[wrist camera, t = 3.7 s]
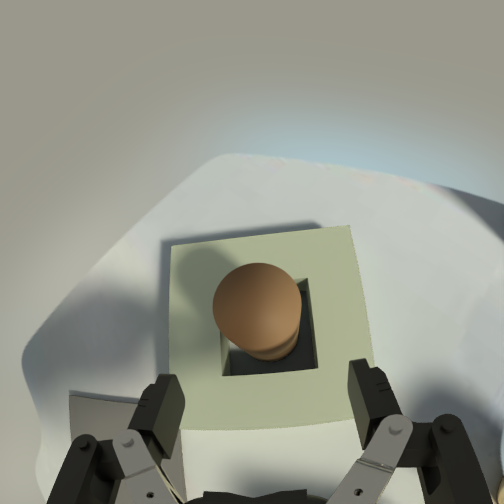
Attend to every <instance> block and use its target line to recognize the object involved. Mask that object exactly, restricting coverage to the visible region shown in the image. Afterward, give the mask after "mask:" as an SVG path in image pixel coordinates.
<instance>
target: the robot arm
mask: <svg viewBox="0 0 504 504" xmlns="http://www.w3.org/2000/svg"><path fill="white" fill-rule="evenodd" d="M347 389H348V396H349V400H350V403H351V407H352V411H353V414H354V418H355V422H356V426H357V430H358V434H359V438H360V442H361V446H362V450H365V451H364V453H363V455H362V456H361V458H360V459H357V460H356V462H355V463H354V464H353V466H352V467H351V469H350V471H349V472H348V474H347V475H346V476H345V478H344V479H343V481H342V482H341V484H340V485H339V487H338V488H337V489H336V491H335V492H334V494H333V495H332V496H331V498H330V499H329V500H327V499H324V498H321V497H318V496H313V495H307V489H304V490H293V491H280V492H277V493H273V494H269V495H265V496H261V497H256V498H251V497H246V496H242V495H237V494H233V493H228V492H208V491H204V493H203V497H200V498H196V499H193V500H190V501H188V502H186V503H185V502H184V501H183V499H182V498H181V497H180V495H179V494H178V492H177V491H176V489H175V488H174V486H173V484H172V483H171V481H170V479H169V478H168V476H167V474H166V473H165V471H164V469H163V467H162V466H161V462H162V459H170V460H171V456H172V453H173V449H174V445H175V441H176V438H177V434H178V431H179V427H180V423H181V420H182V416H183V413H184V409H185V396H184V393H183V391H182V388H181V386H180V383H179V381H178V378H177V376H176V375H175V374H159V376H158V378H157V380H156V383H155V384H150V385H149V386H148V387H147V388H146V389H145V390H144V391H143V393H142V395H141V398H140V400H139V402H138V405H137V407H136V409H135V412H134V414H133V416H132V419H131V421H130V423H129V426H128V428H127V430H123V431H121V432H119V433H118V434H116V436H115V437H114V439H110V440H101V441H97V440H96V438H95V437H94V436H92V435H90V434H82V435H80V436H78V437H76V438H75V439H74V441H73V442H72V444H71V447H70V449H69V451H68V453H67V455H66V458H65V460H64V462H63V465H62V467H61V469H60V472H59V474H58V476H57V479H56V481H55V483H54V486H53V488H52V491H51V493H50V496H49V498H48V501H47V504H115V501H116V498H117V494H118V490H119V487H120V483H121V480H122V479H124V482H125V485H126V487H127V489H128V491H129V494H130V496H131V498H132V500H133V502H134V504H376V503H377V501H378V500H379V498H380V496H381V494H382V493H383V491H384V489H385V487H386V486H387V484H388V482H389V480H390V478H391V476H392V474H393V473H394V471H395V469H396V467H416V468H417V472H418V475H419V479H420V483H421V488H422V492H423V496H424V501H425V504H493V502H492V499H491V496H490V493H489V490H488V487H487V484H486V481H485V478H484V476H483V473H482V470H481V468H480V465H479V462H478V460H477V457H476V455H475V452H474V450H473V447H472V445H471V442H470V440H469V438H468V435H467V433H466V431H465V429H464V426H463V424H462V422H461V420H460V419H459V418H458V417H456V416H455V415H451V414H444V415H440V416H439V417H437V418H436V419H435V420H434V422H433V423H416V422H412V421H411V420H410V419H409V418H407V417H406V416H403V414H402V412H401V410H400V407H399V405H398V403H397V400H396V398H395V395H394V393H393V391H392V390H391V386H390V384H389V382H388V379H387V377H386V374H385V373H384V372H383V371H382V370H381V369H380V368H378V367H373V368H370V367H369V364H368V362H367V360H366V358H362V359H356V360H350V361H349V368H348V382H347Z"/></svg>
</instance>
